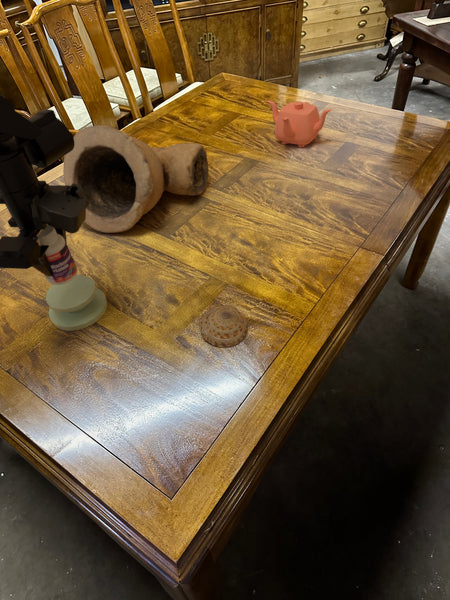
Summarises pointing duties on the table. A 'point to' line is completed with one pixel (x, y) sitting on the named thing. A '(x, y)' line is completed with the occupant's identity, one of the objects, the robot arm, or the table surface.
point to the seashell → (223, 326)
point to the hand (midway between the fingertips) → (57, 264)
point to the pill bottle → (58, 257)
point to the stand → (75, 304)
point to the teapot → (297, 122)
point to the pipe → (129, 175)
